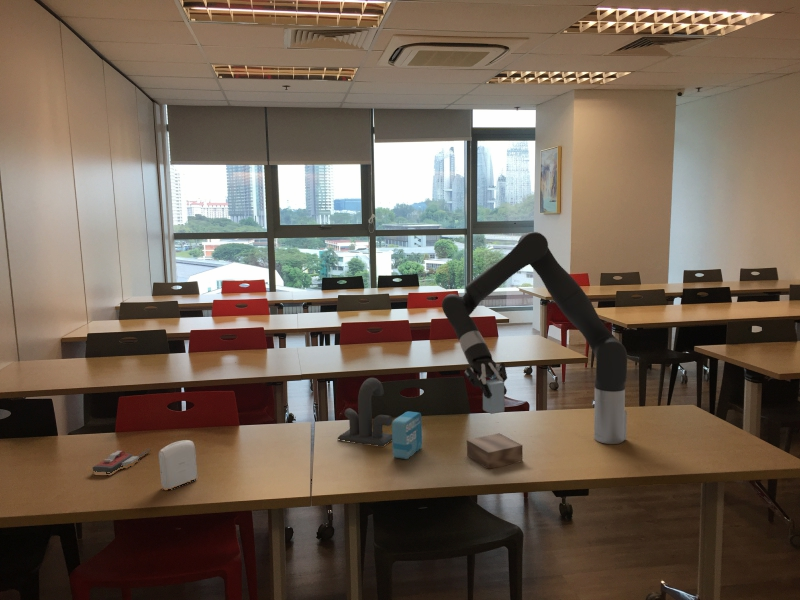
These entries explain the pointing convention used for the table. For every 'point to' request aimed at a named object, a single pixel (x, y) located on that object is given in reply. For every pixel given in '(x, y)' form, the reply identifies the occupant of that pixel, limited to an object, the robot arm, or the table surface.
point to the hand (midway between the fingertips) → (497, 395)
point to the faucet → (367, 418)
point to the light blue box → (406, 434)
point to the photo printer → (177, 463)
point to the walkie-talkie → (116, 461)
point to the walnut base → (494, 450)
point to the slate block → (494, 397)
